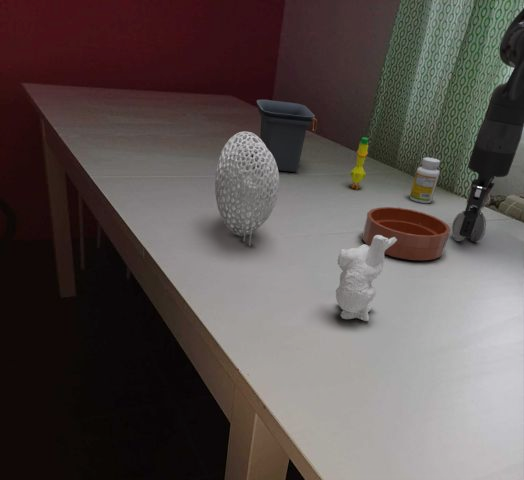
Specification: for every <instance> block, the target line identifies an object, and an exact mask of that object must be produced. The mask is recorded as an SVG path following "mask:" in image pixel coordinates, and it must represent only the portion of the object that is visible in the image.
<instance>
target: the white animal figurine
mask: <svg viewBox="0 0 524 480" xmlns="http://www.w3.org/2000/svg"><path fill="white" fill-rule="evenodd" d="M396 241H397V239H396V238H395V237H393V238H390V239H388V238H385V237H383V236H381V235H375V236H374V237H373V240H372V243H371V245H370V246H369V245H367V244H366V243H365V244H362V245H359V246H358V247H357V248H356V247H350V248H346V249H344V248H342V249H340V250H339V254H338V257H337V265H338V266H339V269H341V270H342V271H341V273H340V275H339V285H338V287H337V288H336V289H335V300H336V303H337V305H338V306H339V307H340V309H342V311H341V312H340V317H341V319H342V320H343V319H344V320H352V319H353V320H354V319H359V320H362V321H364V322H369V321H370V314H369V312H371V311H372V307H371V306H370V305H369V304H370V303H372V302H373V300H374V298H375V297H376V294H377V289H376V287H374V286H373V284H372V283H373V280H376V279H378V277H379V276H381V273H382V270H383V267H384V262H385V254H384V252H385V250H386V249H388V248H389V247H390V246H392V245H393V244H394V243H395V242H396Z"/></svg>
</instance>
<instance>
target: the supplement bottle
mask: <svg viewBox="0 0 524 480" xmlns="http://www.w3.org/2000/svg"><path fill="white" fill-rule="evenodd" d="M440 163H441V160H440V159H438V158H434V157H428V156H427V157H423V158H422V161H421V166H419V167H418V168H417V169H416V171H415V176H414V178H413V183H412V187H411V190H410V195H409V199H410V200H412V201H413V202H416V203H421V204H430V203H431V202H432V201H433V199H434V195H435V191H436V187H437V185H438V180H439V177H440V170H439V169H438V168H439V167H440Z"/></svg>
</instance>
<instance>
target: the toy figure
mask: <svg viewBox="0 0 524 480" xmlns="http://www.w3.org/2000/svg"><path fill="white" fill-rule="evenodd" d="M369 144H370V143H369V138H368V137H365V136H363V137H361V140H360V141H359V144H358V149H357V150H356V155H357V156H356V165H355V167H354V168H352V170H350V178H351V181H352V183H351V187H350V188H351V189H356V190H358V189H360V183H361V182H362V180H363V179H365V177H366V174H367V173H366V171H365V169H364V163H365V160H366V158H367V156H368V154H369V152H368V149H369Z"/></svg>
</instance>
